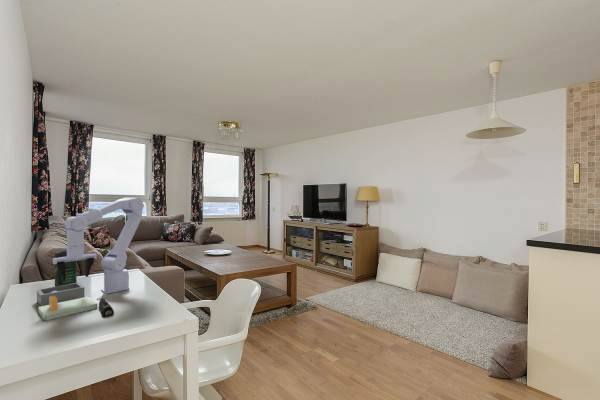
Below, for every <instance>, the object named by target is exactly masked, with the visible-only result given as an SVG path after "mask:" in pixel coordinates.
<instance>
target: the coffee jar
mask: <svg viewBox="0 0 600 400" xmlns="http://www.w3.org/2000/svg"><path fill="white" fill-rule="evenodd" d="M65 256H67V247H66V248H59V249H58V250H56V251H55V252H54V258H60V257H65ZM73 260H75V259H73ZM64 263H65V265H66V269H65V275H66V280H65V281H63V280H62V275H61V272H60V270H59V268H58V267H57V265H56V264H54V287H55V286H61V285H67V284H72V283H78V282H77V270H78V268H77V263H78V262H77V261H70V262H64Z"/></svg>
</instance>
